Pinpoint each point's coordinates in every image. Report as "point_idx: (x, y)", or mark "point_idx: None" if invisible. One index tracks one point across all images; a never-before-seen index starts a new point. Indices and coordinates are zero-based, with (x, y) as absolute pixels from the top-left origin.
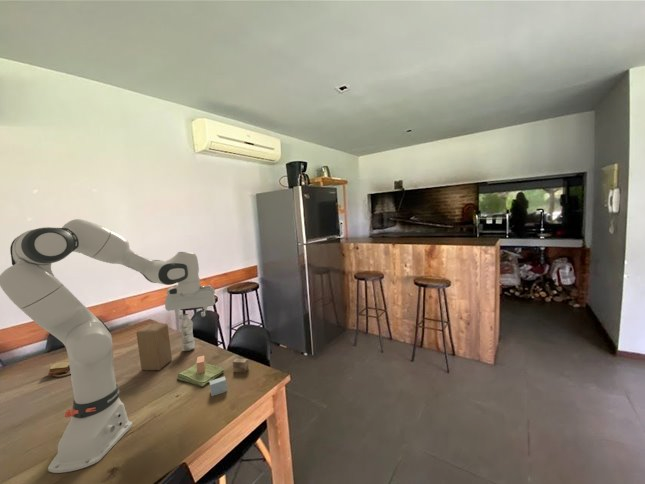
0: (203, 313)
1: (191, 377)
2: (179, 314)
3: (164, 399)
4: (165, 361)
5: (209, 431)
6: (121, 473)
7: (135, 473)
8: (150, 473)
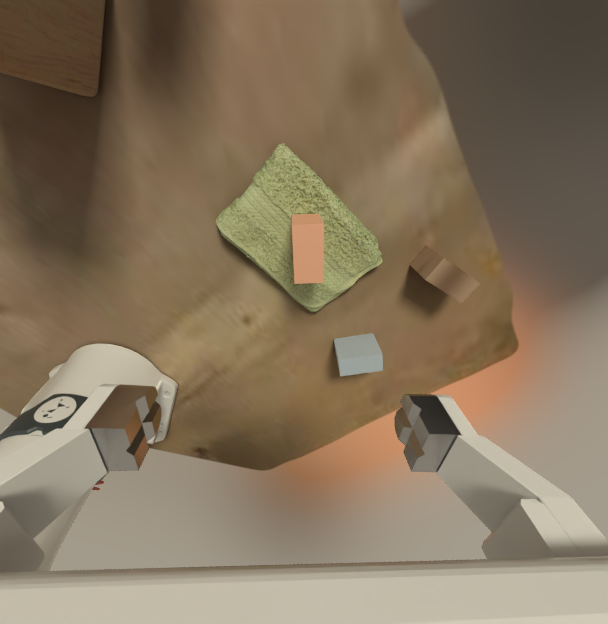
0: (438, 461)
1: (274, 275)
2: (89, 473)
3: (214, 322)
4: (91, 37)
5: (331, 434)
6: (215, 457)
7: (236, 461)
8: (256, 466)
